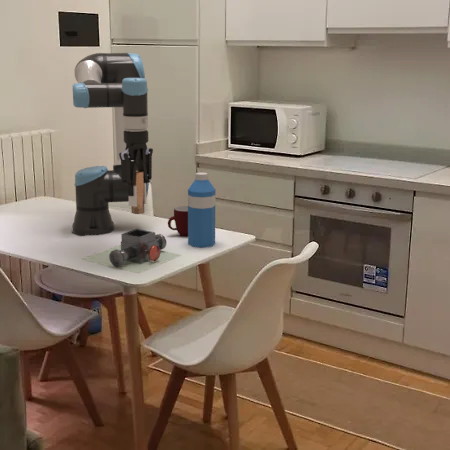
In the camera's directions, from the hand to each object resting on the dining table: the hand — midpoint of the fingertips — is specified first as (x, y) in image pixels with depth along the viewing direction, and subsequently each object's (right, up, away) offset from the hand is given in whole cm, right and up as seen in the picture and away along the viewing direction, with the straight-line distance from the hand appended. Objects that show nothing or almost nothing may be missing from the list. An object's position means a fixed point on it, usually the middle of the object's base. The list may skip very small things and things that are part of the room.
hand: (137, 204), depth 216 cm
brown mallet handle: (0, -3, +1) cm, 3 cm away
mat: (-3, -17, +7) cm, 19 cm away
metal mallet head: (+1, -18, +4) cm, 18 cm away
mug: (+12, -11, +32) cm, 36 cm away
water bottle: (+19, -14, +22) cm, 32 cm away
